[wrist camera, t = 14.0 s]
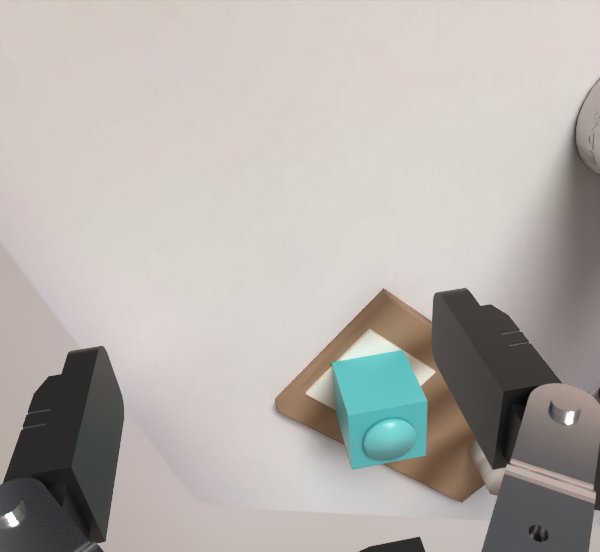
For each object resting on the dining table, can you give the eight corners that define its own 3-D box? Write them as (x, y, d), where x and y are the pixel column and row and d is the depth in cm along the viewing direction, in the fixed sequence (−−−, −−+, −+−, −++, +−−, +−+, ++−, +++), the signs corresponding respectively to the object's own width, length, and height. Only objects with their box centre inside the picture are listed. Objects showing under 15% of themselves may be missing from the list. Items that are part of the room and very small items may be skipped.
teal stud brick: (403, 349, 47) (430, 406, 42) (403, 402, 50) (428, 461, 45) (331, 362, 47) (349, 421, 41) (336, 414, 50) (353, 475, 44)
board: (558, 408, 57) (593, 456, 52) (456, 490, 61) (479, 541, 56) (383, 288, 46) (406, 333, 41) (275, 398, 50) (283, 451, 45)
